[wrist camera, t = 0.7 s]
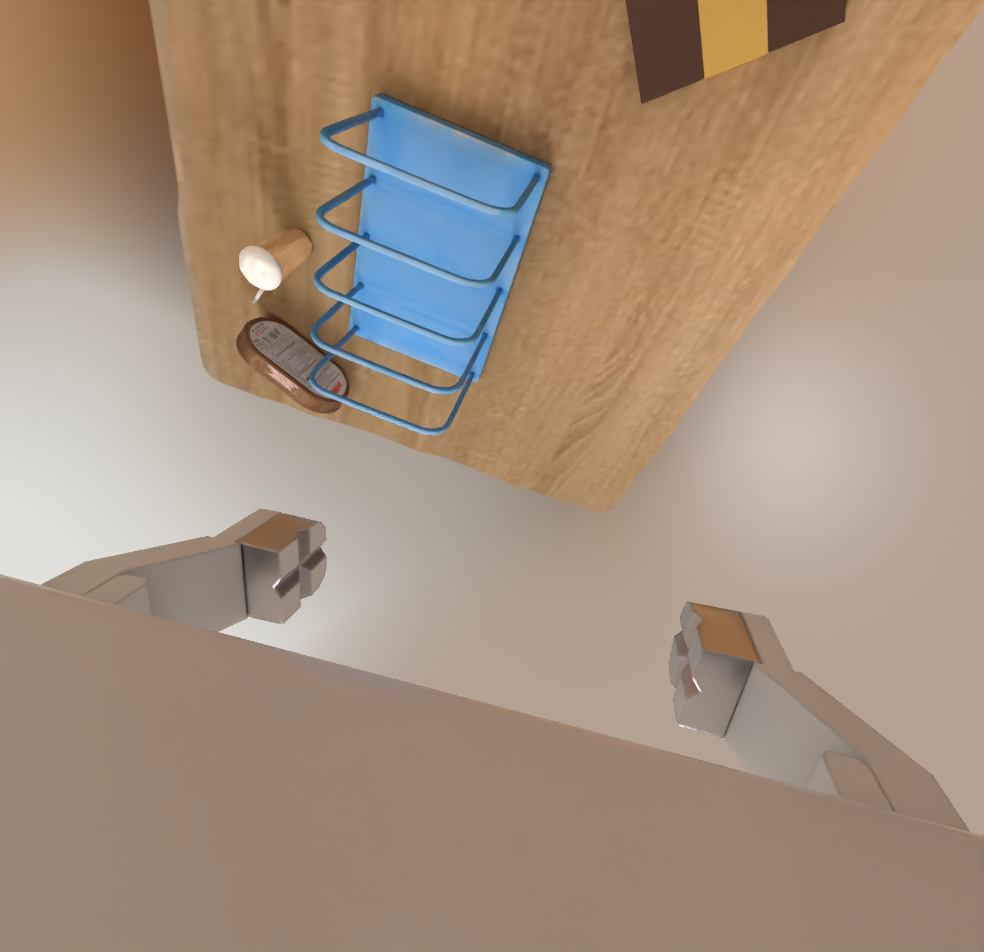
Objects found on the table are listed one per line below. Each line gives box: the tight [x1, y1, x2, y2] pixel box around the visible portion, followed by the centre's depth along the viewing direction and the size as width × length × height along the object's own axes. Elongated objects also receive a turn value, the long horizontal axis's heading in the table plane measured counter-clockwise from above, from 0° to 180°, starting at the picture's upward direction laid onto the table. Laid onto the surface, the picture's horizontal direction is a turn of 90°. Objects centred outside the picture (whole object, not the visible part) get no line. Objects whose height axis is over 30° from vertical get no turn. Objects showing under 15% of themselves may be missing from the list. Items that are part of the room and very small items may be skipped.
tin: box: [236, 317, 349, 414], centre depth 65 cm, size 15×3×8 cm, turn 49°
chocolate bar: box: [626, 0, 846, 104], centre depth 37 cm, size 14×7×2 cm, turn 111°
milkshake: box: [239, 229, 312, 304], centre depth 55 cm, size 4×5×10 cm
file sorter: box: [310, 93, 552, 435], centre depth 50 cm, size 25×17×15 cm
